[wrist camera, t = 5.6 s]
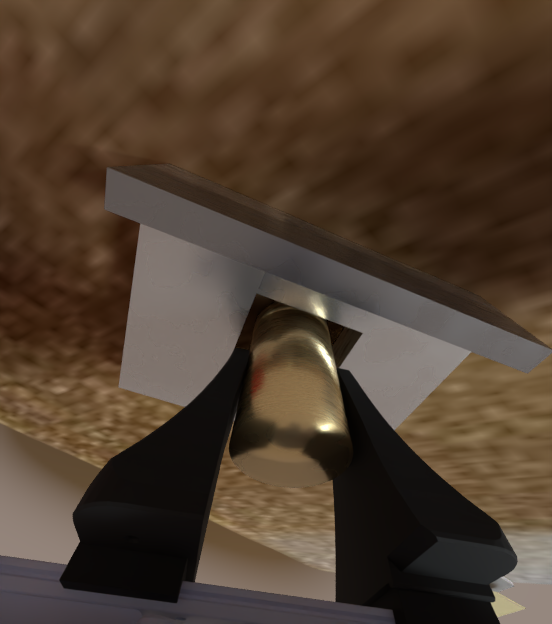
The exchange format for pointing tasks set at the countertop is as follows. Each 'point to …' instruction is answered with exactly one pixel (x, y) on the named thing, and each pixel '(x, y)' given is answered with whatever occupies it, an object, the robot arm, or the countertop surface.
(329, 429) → the brass cylinder
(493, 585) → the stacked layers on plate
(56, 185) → the countertop surface
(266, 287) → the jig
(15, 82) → the countertop surface
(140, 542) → the robot arm
